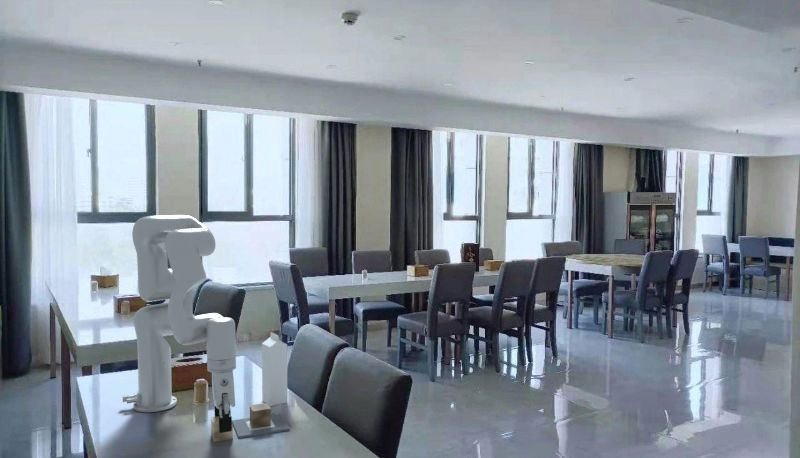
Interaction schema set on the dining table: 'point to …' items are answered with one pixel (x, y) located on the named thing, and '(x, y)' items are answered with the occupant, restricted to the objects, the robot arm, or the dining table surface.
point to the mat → (246, 430)
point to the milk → (274, 371)
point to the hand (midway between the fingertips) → (223, 425)
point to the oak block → (215, 431)
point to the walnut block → (260, 415)
